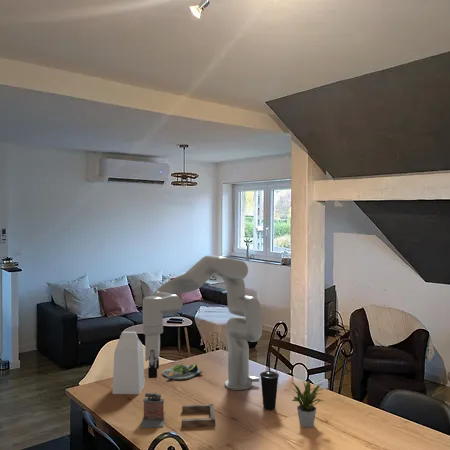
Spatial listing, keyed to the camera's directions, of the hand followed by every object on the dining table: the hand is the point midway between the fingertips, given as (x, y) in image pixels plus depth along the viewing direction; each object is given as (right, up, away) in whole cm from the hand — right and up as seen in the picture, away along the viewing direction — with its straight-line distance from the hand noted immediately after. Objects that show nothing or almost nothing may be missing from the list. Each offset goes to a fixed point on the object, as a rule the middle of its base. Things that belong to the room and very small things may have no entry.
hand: (153, 373), depth 172 cm
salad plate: (+6, -18, +51) cm, 55 cm away
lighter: (0, -18, 0) cm, 18 cm away
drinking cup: (+46, -18, +11) cm, 50 cm away
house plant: (+59, -18, -5) cm, 62 cm away
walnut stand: (+17, -18, +1) cm, 25 cm away
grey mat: (0, -18, 0) cm, 18 cm away
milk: (-16, -18, +31) cm, 40 cm away
